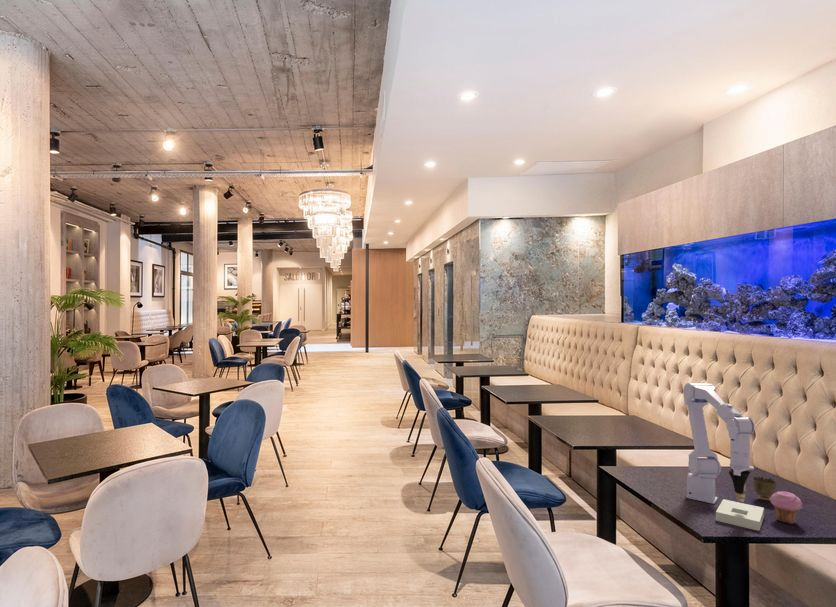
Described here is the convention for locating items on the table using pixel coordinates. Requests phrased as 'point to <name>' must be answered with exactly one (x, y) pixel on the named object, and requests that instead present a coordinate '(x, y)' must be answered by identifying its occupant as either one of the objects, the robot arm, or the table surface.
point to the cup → (764, 487)
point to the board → (740, 514)
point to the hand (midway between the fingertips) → (739, 491)
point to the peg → (740, 495)
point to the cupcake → (786, 506)
